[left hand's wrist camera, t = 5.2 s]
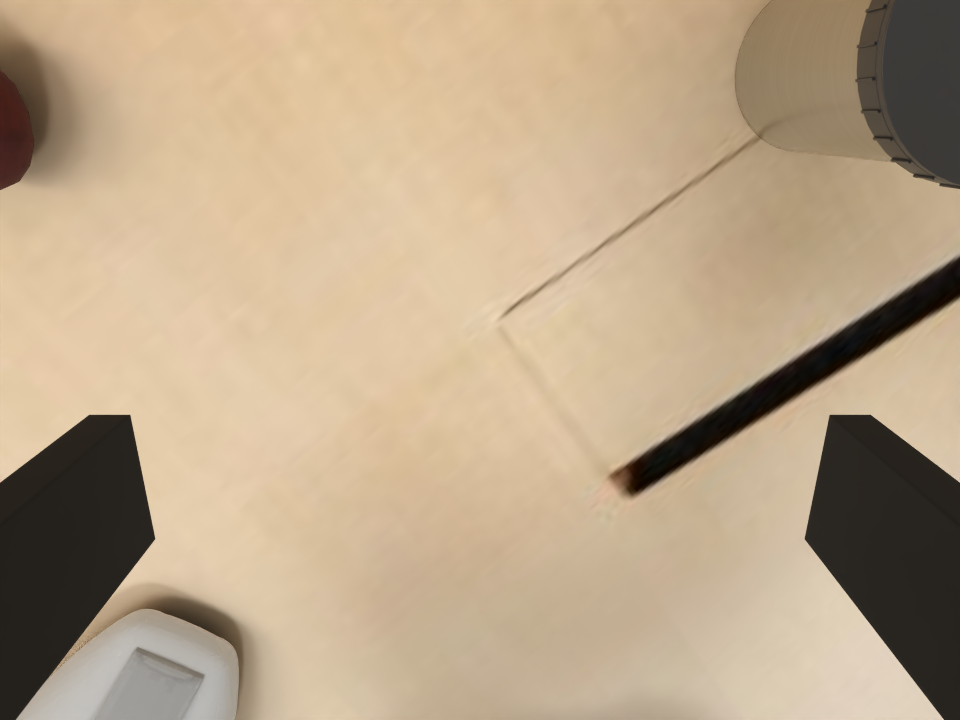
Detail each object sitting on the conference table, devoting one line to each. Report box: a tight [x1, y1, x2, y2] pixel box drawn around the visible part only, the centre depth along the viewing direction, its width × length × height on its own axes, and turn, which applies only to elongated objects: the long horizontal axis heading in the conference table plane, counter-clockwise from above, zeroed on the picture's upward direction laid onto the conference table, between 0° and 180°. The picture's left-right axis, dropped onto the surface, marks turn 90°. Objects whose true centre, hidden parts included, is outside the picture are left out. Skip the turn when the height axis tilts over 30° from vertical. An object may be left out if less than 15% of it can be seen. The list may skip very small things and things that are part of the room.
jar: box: [735, 0, 892, 162], centre depth 29 cm, size 9×9×15 cm
